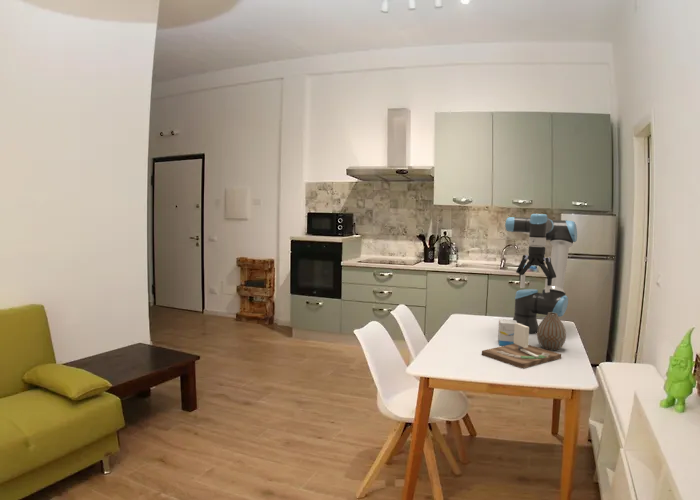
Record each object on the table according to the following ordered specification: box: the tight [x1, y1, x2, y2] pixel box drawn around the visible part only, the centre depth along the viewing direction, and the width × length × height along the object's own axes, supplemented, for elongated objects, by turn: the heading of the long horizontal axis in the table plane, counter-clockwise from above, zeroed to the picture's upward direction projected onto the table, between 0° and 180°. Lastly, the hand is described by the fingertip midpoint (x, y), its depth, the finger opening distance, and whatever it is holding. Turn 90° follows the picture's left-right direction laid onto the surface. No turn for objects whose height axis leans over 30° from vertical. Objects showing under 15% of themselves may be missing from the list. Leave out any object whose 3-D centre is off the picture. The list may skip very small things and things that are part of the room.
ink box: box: [497, 318, 517, 347], centre depth 241 cm, size 9×8×12 cm
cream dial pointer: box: [514, 323, 539, 357], centre depth 219 cm, size 16×2×12 cm, turn 16°
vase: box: [536, 312, 567, 351], centre depth 235 cm, size 13×13×18 cm
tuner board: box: [481, 344, 562, 369], centre depth 220 cm, size 28×22×2 cm
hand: (534, 290), depth 232 cm, fingers open, 13 cm apart
